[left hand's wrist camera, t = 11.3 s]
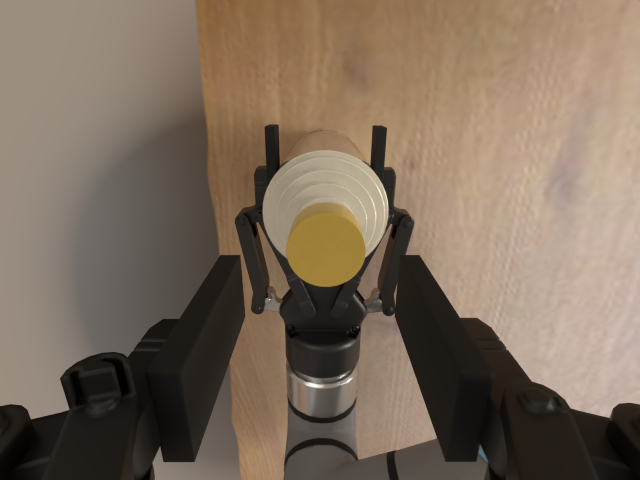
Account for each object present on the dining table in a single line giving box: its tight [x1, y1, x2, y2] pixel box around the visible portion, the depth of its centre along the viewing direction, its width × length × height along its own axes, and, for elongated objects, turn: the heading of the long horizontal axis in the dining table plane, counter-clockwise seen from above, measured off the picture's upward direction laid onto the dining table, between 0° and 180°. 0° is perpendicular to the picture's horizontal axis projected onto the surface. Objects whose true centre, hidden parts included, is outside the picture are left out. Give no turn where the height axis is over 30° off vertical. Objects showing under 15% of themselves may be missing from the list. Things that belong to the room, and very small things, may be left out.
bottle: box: [263, 131, 388, 258], centre depth 28 cm, size 8×8×21 cm
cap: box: [286, 202, 366, 287], centre depth 19 cm, size 4×4×2 cm
